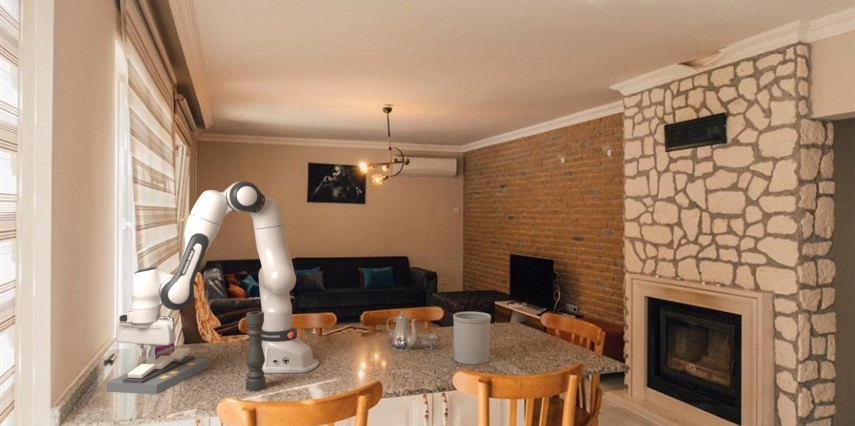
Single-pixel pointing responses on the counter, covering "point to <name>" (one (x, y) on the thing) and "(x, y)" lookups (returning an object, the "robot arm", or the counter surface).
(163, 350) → the candy bar box
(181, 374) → the switch board
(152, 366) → the switch
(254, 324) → the candle holder
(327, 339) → the counter surface
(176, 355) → the switch
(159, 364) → the switch
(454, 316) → the utensil holder
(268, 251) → the robot arm
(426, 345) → the chinaware
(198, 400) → the counter surface
